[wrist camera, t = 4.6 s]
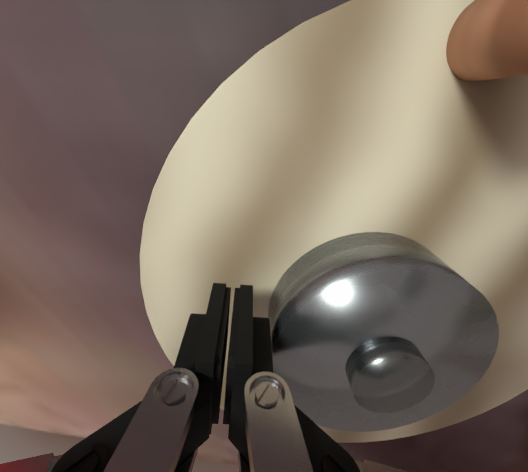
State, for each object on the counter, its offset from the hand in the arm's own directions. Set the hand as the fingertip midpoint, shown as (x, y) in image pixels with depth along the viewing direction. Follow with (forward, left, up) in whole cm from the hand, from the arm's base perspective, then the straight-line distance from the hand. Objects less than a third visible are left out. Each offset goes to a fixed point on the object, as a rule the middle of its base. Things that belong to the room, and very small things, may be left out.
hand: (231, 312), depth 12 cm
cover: (-6, +1, -1) cm, 7 cm away
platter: (-8, 0, -3) cm, 8 cm away
